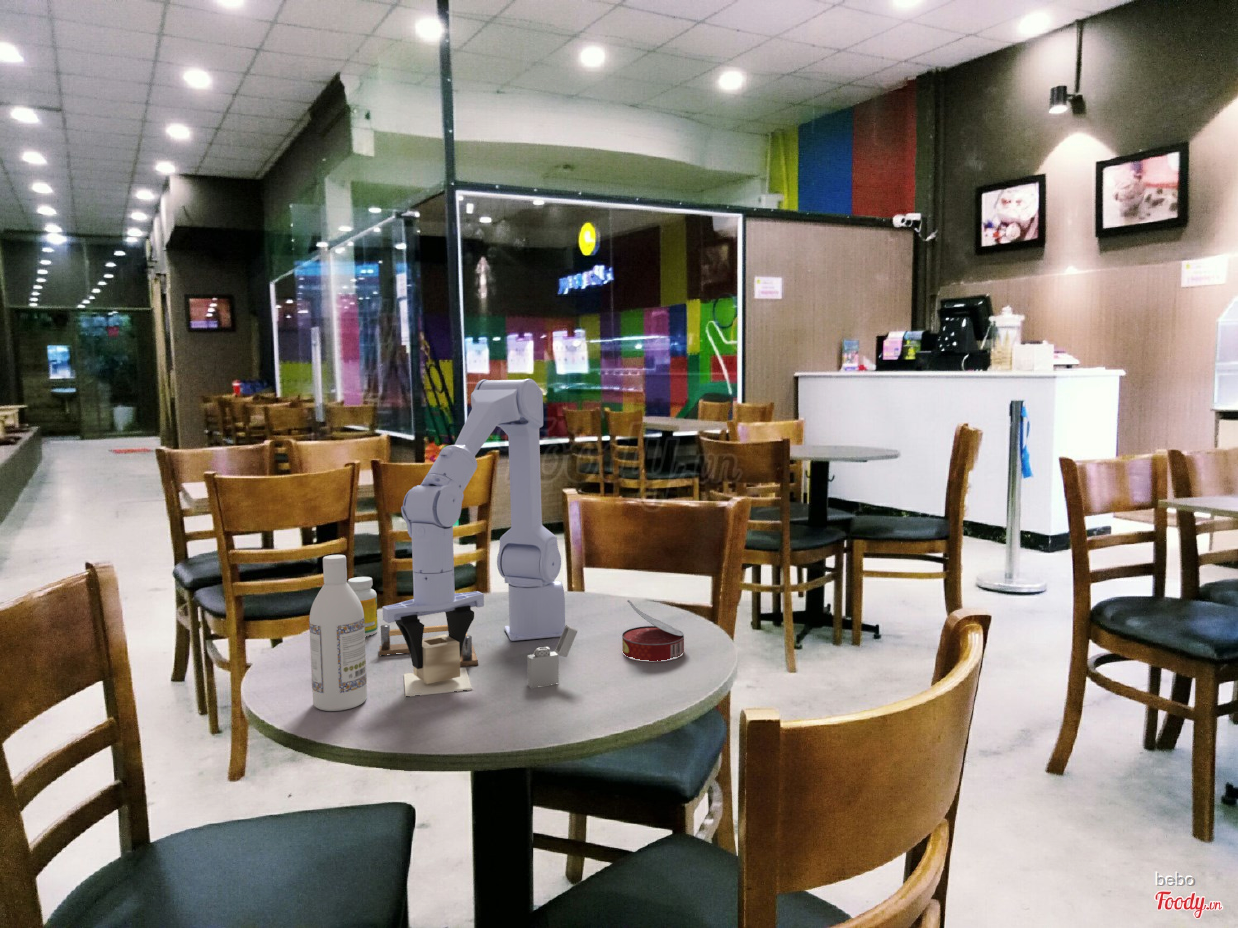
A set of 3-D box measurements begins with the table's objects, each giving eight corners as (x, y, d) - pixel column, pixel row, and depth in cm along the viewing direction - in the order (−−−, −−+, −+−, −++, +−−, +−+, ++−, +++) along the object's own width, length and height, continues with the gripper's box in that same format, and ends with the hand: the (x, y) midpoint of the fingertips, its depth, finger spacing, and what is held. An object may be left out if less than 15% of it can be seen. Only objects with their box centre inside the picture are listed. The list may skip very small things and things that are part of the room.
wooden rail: (470, 642, 139) (469, 616, 138) (478, 665, 127) (477, 637, 127) (379, 650, 135) (378, 624, 135) (379, 675, 123) (378, 646, 123)
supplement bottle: (340, 633, 145) (338, 578, 144) (370, 627, 148) (368, 574, 148) (352, 640, 141) (350, 584, 140) (383, 634, 144) (381, 579, 143)
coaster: (465, 669, 125) (465, 667, 125) (471, 690, 117) (471, 687, 117) (403, 675, 123) (403, 673, 123) (405, 697, 114) (405, 694, 114)
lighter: (531, 688, 117) (530, 632, 116) (527, 684, 119) (526, 629, 118) (578, 681, 120) (577, 626, 119) (574, 677, 122) (573, 623, 121)
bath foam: (373, 693, 116) (368, 551, 114) (357, 712, 109) (351, 561, 107) (324, 693, 116) (318, 551, 114) (305, 712, 109) (298, 562, 107)
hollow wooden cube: (446, 667, 123) (444, 634, 123) (460, 676, 119) (459, 642, 119) (413, 674, 120) (412, 640, 120) (427, 684, 116) (425, 649, 116)
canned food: (636, 671, 138) (643, 612, 141) (692, 674, 133) (698, 612, 137) (603, 657, 129) (612, 594, 132) (662, 660, 124) (669, 594, 128)
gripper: (468, 558, 126) (470, 646, 127) (373, 571, 117) (377, 665, 119) (489, 566, 120) (491, 658, 121) (391, 580, 112) (395, 679, 113)
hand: (436, 662), depth 120 cm, fingers open, 5 cm apart
